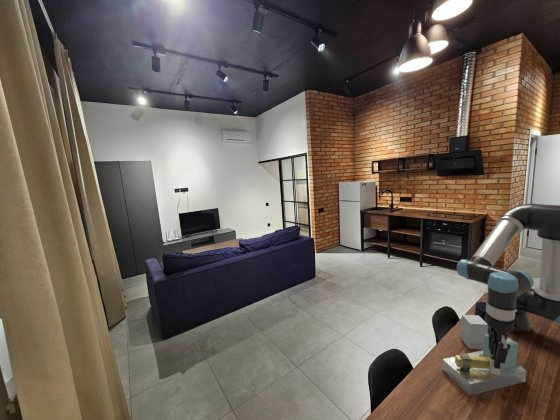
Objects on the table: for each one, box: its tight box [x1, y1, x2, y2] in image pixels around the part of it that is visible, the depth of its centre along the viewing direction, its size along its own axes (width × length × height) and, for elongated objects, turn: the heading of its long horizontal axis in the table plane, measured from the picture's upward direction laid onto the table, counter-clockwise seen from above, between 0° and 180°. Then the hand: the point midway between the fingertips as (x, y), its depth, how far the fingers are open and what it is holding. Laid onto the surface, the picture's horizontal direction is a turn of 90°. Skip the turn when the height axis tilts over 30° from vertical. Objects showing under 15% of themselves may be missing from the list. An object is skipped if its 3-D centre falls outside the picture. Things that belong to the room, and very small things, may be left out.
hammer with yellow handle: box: [454, 352, 490, 372], centre depth 92 cm, size 3×14×5 cm, turn 81°
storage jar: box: [474, 301, 487, 322], centre depth 115 cm, size 10×10×15 cm
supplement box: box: [460, 314, 488, 350], centre depth 111 cm, size 7×7×13 cm
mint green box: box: [482, 334, 519, 369], centre depth 95 cm, size 7×7×10 cm
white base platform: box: [442, 349, 527, 396], centre depth 95 cm, size 25×12×6 cm, turn 99°
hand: (494, 373), depth 89 cm, fingers closed
